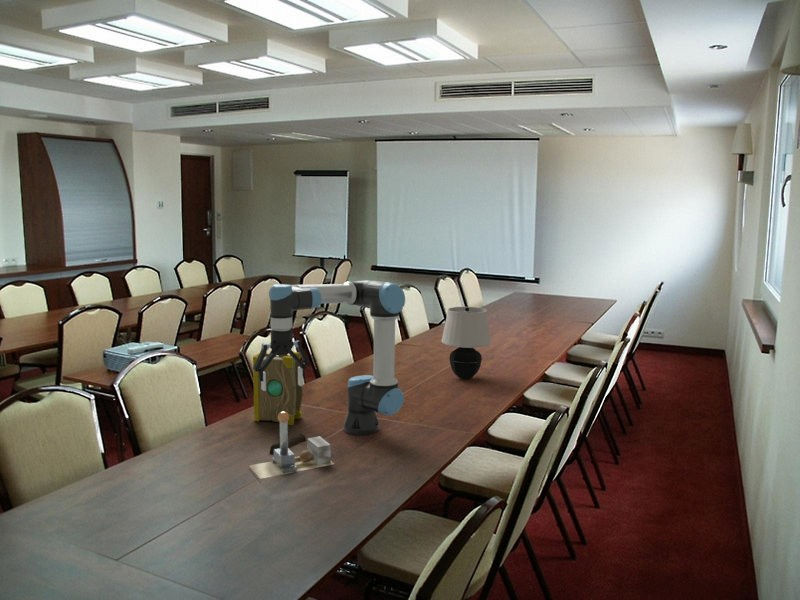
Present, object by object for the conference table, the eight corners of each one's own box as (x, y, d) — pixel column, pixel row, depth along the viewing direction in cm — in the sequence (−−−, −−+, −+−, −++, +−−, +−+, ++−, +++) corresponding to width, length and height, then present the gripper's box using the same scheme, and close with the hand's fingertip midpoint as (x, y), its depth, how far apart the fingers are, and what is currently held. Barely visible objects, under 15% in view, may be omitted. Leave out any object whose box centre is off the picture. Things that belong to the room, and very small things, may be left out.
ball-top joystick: (284, 458, 247) (284, 405, 244) (296, 470, 237) (296, 415, 234) (271, 460, 245) (271, 407, 242) (283, 472, 234) (282, 417, 231)
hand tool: (299, 442, 270) (298, 431, 269) (306, 444, 267) (306, 433, 267) (264, 456, 254) (264, 444, 253) (272, 458, 252) (272, 447, 251)
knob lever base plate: (320, 455, 255) (320, 434, 254) (334, 467, 244) (334, 445, 242) (248, 469, 241) (248, 447, 240) (260, 482, 230) (259, 459, 229)
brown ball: (309, 459, 248) (309, 447, 247) (313, 463, 244) (313, 451, 243) (297, 461, 246) (297, 449, 245) (302, 465, 242) (302, 453, 241)
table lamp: (464, 370, 386) (467, 301, 380) (499, 380, 366) (502, 308, 360) (430, 377, 369) (431, 306, 363) (465, 388, 349) (467, 313, 343)
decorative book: (251, 421, 292) (250, 354, 288) (262, 413, 303) (261, 349, 299) (294, 425, 288) (294, 358, 284) (304, 417, 299) (303, 352, 294)
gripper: (310, 324, 243) (311, 380, 246) (243, 329, 231) (244, 389, 234) (318, 327, 236) (319, 385, 239) (249, 333, 224) (250, 394, 227)
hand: (282, 387), depth 237 cm, fingers open, 13 cm apart
